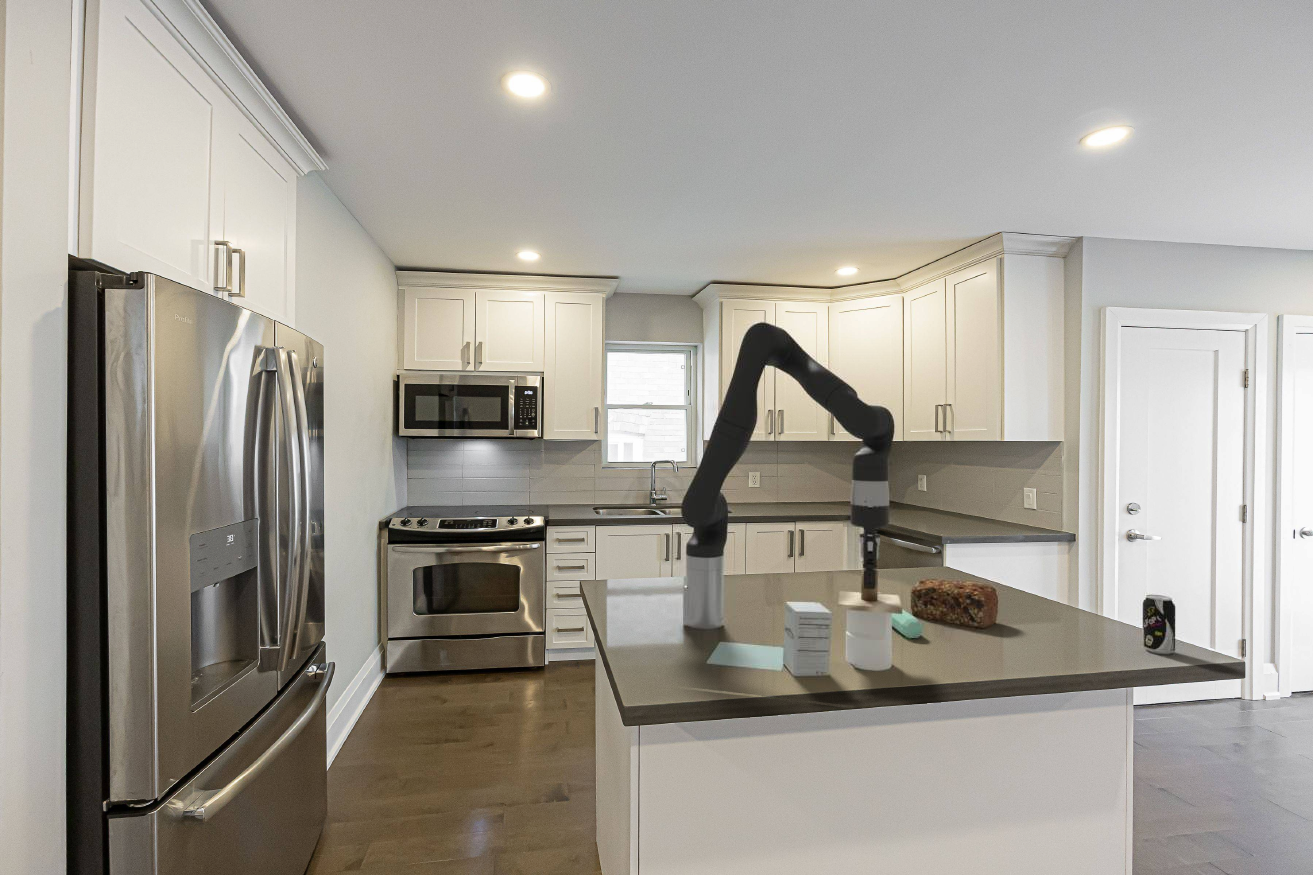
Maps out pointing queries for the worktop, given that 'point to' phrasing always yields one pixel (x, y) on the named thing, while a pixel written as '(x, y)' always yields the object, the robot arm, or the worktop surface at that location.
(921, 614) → the bread
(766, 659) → the mat
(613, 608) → the worktop surface
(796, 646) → the supplement box
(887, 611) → the lid
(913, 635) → the container
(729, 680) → the worktop surface
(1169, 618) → the beverage can
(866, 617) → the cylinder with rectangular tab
